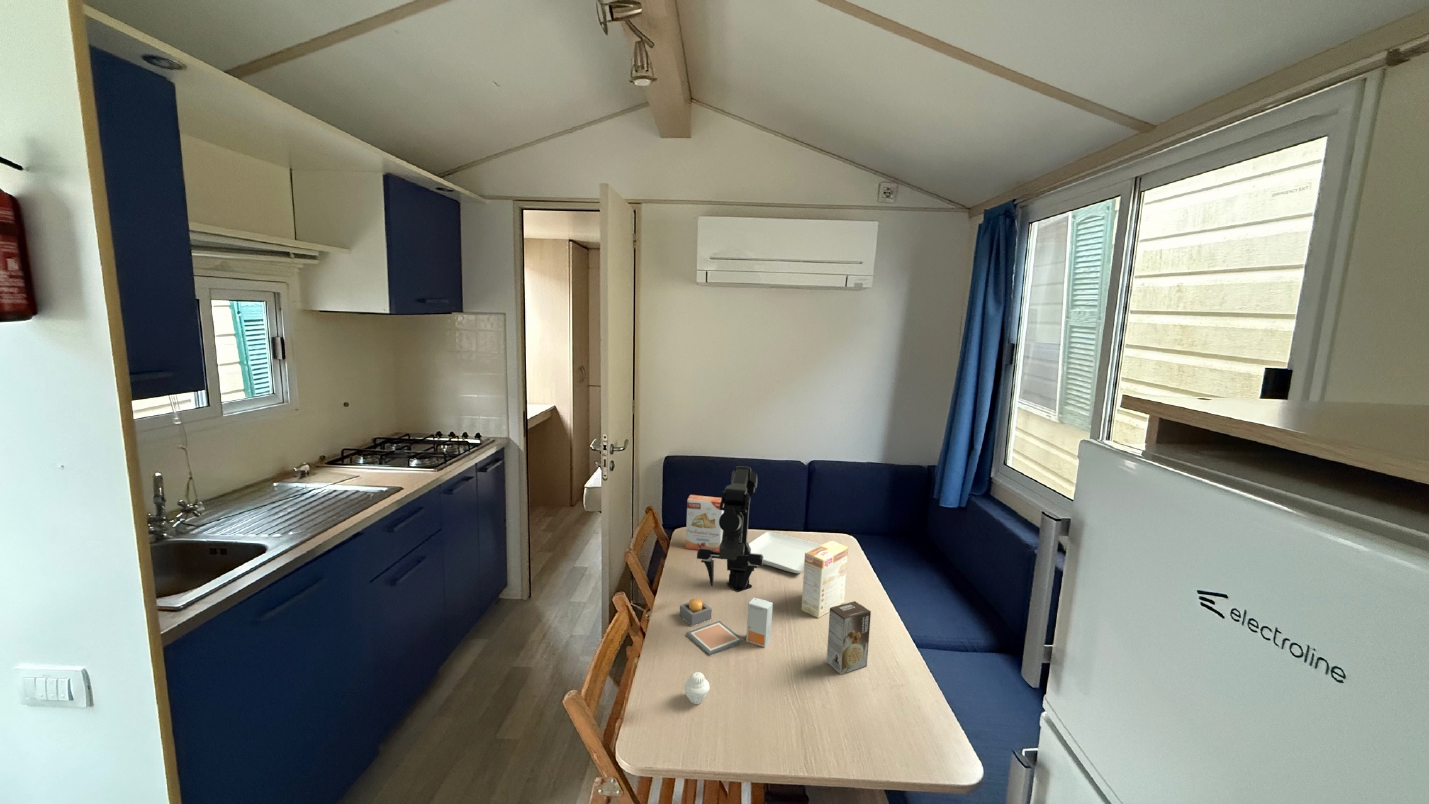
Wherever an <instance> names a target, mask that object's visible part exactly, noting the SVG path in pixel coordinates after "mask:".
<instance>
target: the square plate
mask: <svg viewBox="0 0 1429 804" xmlns="http://www.w3.org/2000/svg"><path fill="white" fill-rule="evenodd" d="M748 544H749V546H750V548H751V553H754V554H762V555H763V565H765V566H769V567H772V568H776V569H780V570H782V571H786V572H790V573H794V574H800V573H802V572H804V560H805V553H806V552H808V551H810V550H812V549H814V548H817V547H819V546H821V545H822V544H821V543H816V542H813V541H809V540H805V539H802V538H798V537H794V536H790V535H786V534H781V533H777V532H772V531H765V532H764V533H762V534H761V535H760V536H758V537H756V538H755V539H753V540H752V541H751V542H748Z"/></svg>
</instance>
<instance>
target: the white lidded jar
mask: <svg viewBox="0 0 1429 804" xmlns="http://www.w3.org/2000/svg"><path fill="white" fill-rule="evenodd" d="M683 687H684V691H685V694H686V696H687V698H688V700H689V702H690V703H692V704H693V705H699V704H702V703H703V702H704V700H705V699H706V697H707V696H708V694H709V692H710V682H709V681H708V680H707V679H706V677H705V675H704V674H703V673H702V672H699V671H697V672H693V673H691V675H690V676H689V678H688V679H687V680H686V681H685V683H684V685H683Z"/></svg>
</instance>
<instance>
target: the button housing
mask: <svg viewBox="0 0 1429 804" xmlns="http://www.w3.org/2000/svg"><path fill="white" fill-rule="evenodd" d="M712 610H713V609H712V608H711V607H710V606H708V605H707V604H706V603H705V602H704V601H702V610H701V611H698V612H695V613H693V612H692V611H690V610H689V601H688V602H685V603H682V604H679V617H681V618H682V619H683V620H684V621H685V622H686V621H687V623H688V625H690V626H691V627H694V626H697V625H699V624H703V623H705V622H704V621H706V622H708V620H709V621H711V620H712ZM710 619H711V620H710ZM702 622H703V623H702ZM696 624H697V625H696Z"/></svg>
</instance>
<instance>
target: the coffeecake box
mask: <svg viewBox="0 0 1429 804" xmlns="http://www.w3.org/2000/svg"><path fill="white" fill-rule="evenodd" d="M848 552H849V546H846V545H844V544H841V543H838V542H836V541H835V540H829V541H827V542H825V543H823V544H821V546H819V547H817V548H814V549H812V550H810V551H808V552H806V553H805V560H804V570H803V578H802V579H803V580H802V582H803V583H802V593H801V594H802V595H801V611H802V612H805V613H806V614H809V615H811V616H812V617H815V618H818V619H820V618H821V617H823V616H825V615H826V614H827V613H830V608H831V607H835V606H839V605H842V604H845V598H846V597H845V595H846V594H845V593H846V583H847V582H846V581H847V569H848V556H849V555H848Z"/></svg>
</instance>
